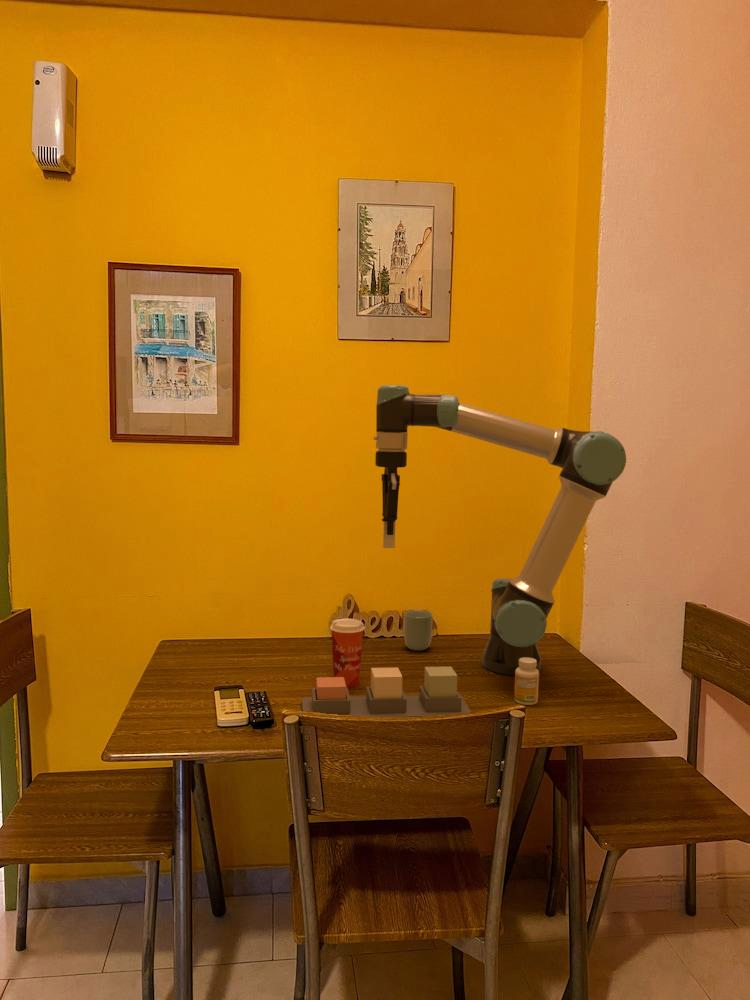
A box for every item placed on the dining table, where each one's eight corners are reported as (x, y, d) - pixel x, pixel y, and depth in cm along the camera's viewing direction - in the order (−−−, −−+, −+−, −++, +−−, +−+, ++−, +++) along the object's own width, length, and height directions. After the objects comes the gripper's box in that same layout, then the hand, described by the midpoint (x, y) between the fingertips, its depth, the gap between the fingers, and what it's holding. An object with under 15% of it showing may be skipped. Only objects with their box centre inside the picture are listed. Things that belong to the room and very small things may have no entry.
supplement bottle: (521, 694, 174) (522, 654, 173) (542, 700, 171) (544, 659, 170) (509, 701, 170) (511, 660, 169) (531, 707, 167) (533, 665, 166)
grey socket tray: (459, 699, 170) (460, 681, 170) (472, 720, 159) (473, 701, 158) (302, 702, 166) (302, 684, 166) (303, 724, 154) (303, 705, 154)
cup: (400, 651, 205) (401, 615, 204) (407, 643, 212) (408, 609, 211) (428, 654, 203) (429, 618, 202) (434, 646, 210) (435, 611, 209)
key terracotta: (343, 699, 164) (343, 677, 164) (345, 709, 158) (346, 686, 158) (316, 699, 163) (316, 677, 163) (317, 710, 157) (317, 687, 157)
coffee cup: (333, 690, 174) (334, 627, 173) (326, 678, 182) (327, 618, 181) (367, 687, 176) (369, 626, 175) (359, 676, 184) (360, 616, 183)
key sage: (450, 688, 167) (451, 666, 166) (456, 698, 161) (457, 675, 160) (424, 688, 166) (424, 666, 166) (429, 698, 160) (429, 676, 160)
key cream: (397, 689, 165) (398, 667, 165) (401, 699, 159) (402, 676, 159) (370, 689, 165) (371, 667, 164) (373, 700, 159) (374, 677, 158)
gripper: (372, 449, 184) (370, 543, 187) (379, 451, 172) (376, 552, 174) (402, 449, 185) (399, 543, 188) (411, 451, 173) (408, 552, 175)
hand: (388, 547), depth 181 cm, fingers closed
